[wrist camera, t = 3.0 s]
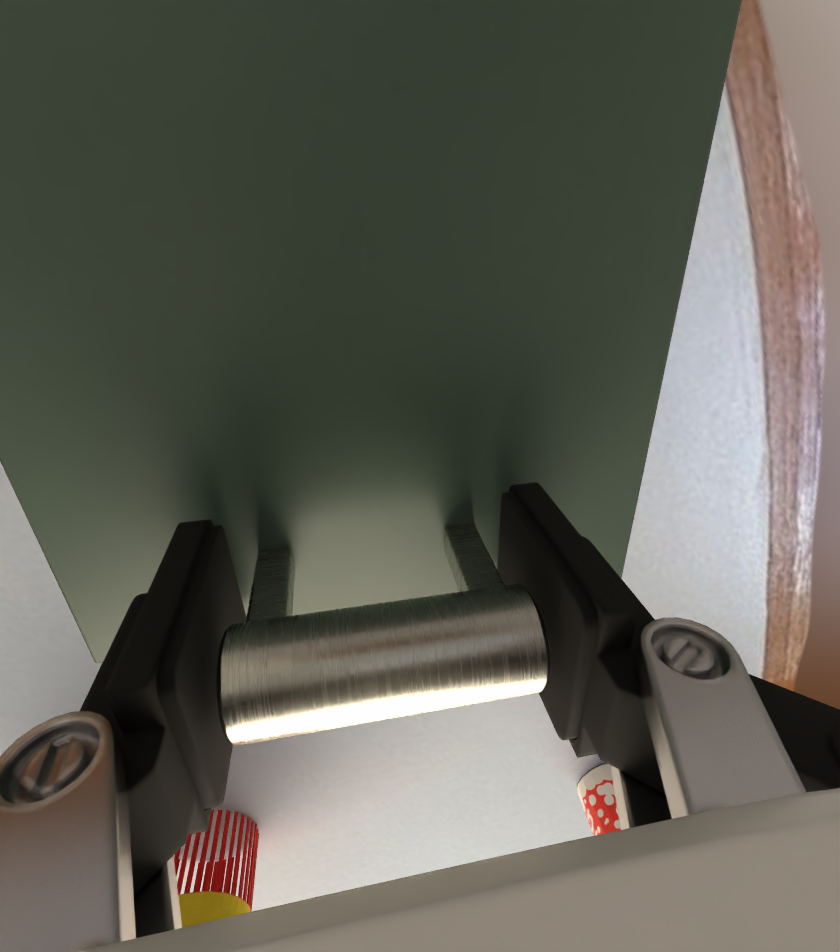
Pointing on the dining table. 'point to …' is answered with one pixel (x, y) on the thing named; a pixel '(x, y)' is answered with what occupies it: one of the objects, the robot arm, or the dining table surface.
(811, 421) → the dining table surface
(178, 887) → the lantern
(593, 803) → the beverage cup
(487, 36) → the bin lid
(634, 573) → the dining table surface
